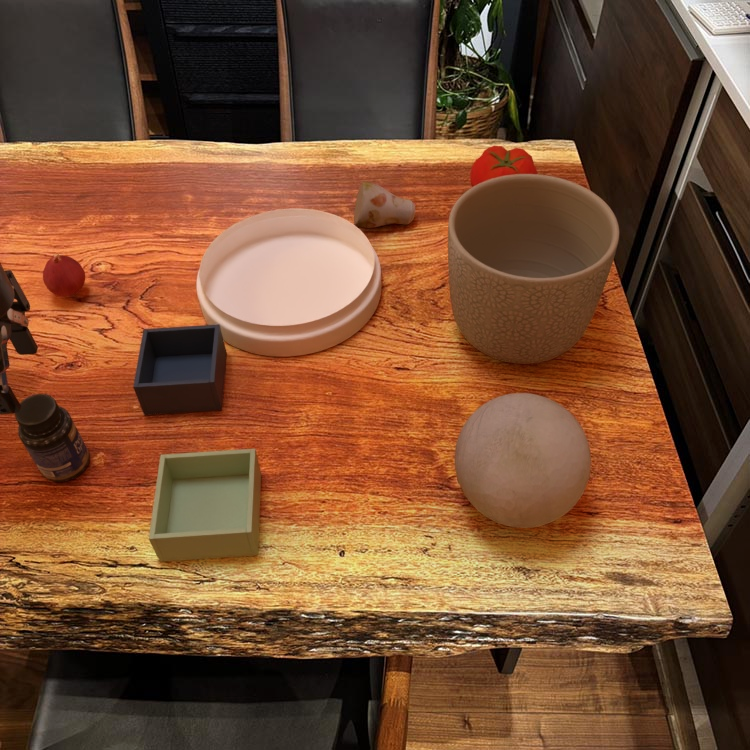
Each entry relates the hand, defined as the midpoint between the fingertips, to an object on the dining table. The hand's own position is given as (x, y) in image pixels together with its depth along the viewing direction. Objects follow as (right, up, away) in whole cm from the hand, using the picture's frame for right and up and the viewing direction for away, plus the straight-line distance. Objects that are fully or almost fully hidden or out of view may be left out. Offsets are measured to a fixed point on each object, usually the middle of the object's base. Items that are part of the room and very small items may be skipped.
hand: (20, 381), depth 88 cm
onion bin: (+20, -16, +7) cm, 26 cm away
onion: (-6, +13, +32) cm, 35 cm away
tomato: (+60, +31, +45) cm, 81 cm away
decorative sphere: (+56, -14, +7) cm, 58 cm away
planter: (+59, +7, +25) cm, 65 cm away
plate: (+27, +13, +32) cm, 43 cm away
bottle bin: (+14, 0, +20) cm, 24 cm away
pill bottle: (0, -11, +12) cm, 16 cm away
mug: (+41, +25, +42) cm, 64 cm away
